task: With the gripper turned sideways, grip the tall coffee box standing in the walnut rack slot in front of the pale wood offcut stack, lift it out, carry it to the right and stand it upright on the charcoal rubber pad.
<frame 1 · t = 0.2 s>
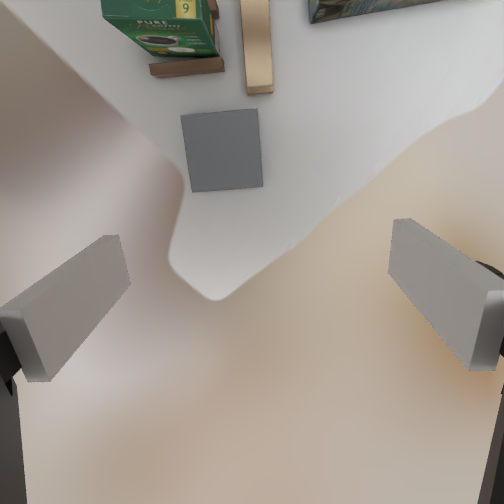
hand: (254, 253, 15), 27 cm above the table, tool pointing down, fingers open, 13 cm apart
walnut rack: (186, 44, 36), on the table
offcut stack: (256, 31, 33), on the table
stand pad: (224, 151, 40), on the table
coffee box: (187, 44, 36), on the table
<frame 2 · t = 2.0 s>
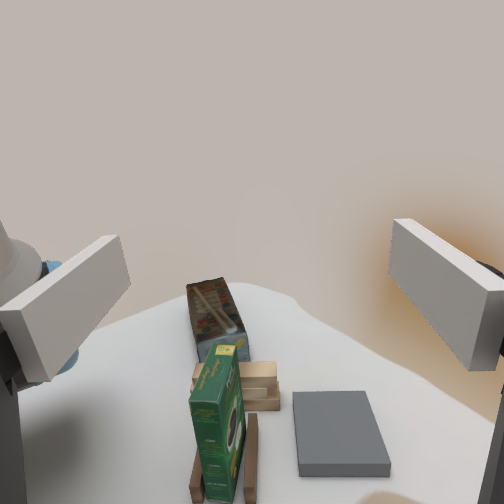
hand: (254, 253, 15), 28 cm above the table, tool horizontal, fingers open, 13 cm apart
walnut rack: (228, 461, 34), on the table
offcut stack: (235, 385, 40), on the table
beverage carton: (216, 334, 56), on the table
stand pad: (335, 435, 36), on the table
coffee box: (229, 463, 34), on the table
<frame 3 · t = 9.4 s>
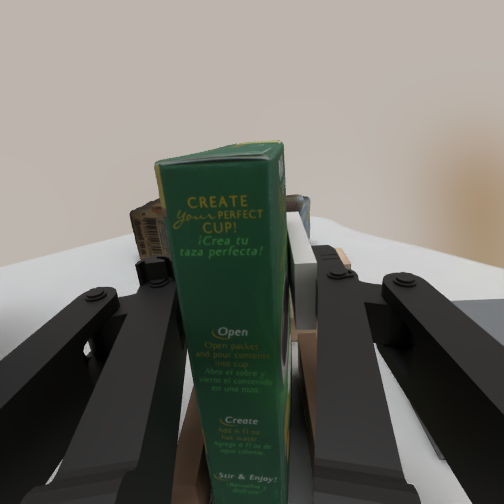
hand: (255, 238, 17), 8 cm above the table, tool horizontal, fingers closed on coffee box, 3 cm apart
walnut rack: (262, 429, 15), on the table
offcut stack: (264, 295, 21), on the table
beverage carton: (226, 254, 37), on the table
stand pad: (482, 376, 17), on the table
coffee box: (262, 432, 15), on the table, touching gripper
when the fingers open (11 cm above the table, at t = 16.9 s): coffee box stays where it is, resting on stand pad.
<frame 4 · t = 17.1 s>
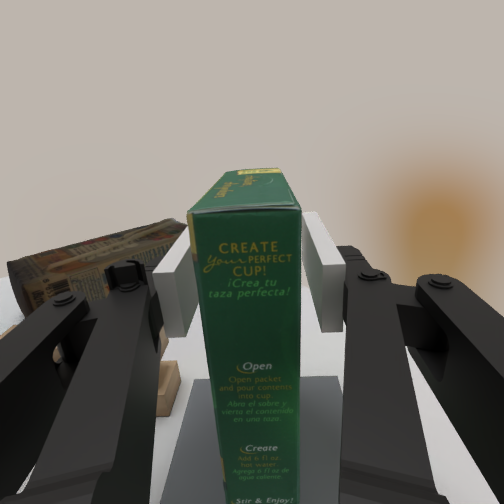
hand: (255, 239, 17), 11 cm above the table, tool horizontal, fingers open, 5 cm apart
offcut stack: (86, 368, 21), on the table
beverage carton: (125, 293, 37), on the table
stand pad: (266, 472, 16), on the table
coffee box: (265, 449, 15), point 2 cm above the table, touching stand pad
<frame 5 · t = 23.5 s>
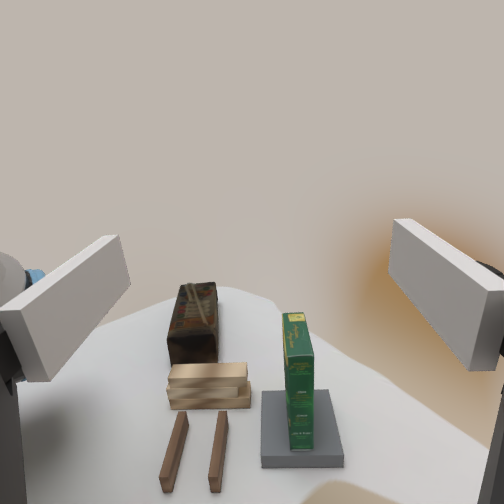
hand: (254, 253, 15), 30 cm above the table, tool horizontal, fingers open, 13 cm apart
walnut rack: (198, 455, 37), on the table
offcut stack: (209, 385, 43), on the table
beverage carton: (198, 333, 60), on the table
stand pad: (298, 430, 39), on the table
coffee box: (298, 421, 38), point 2 cm above the table, touching stand pad
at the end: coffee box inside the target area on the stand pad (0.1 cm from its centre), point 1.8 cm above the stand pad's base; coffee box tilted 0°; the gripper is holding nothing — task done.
